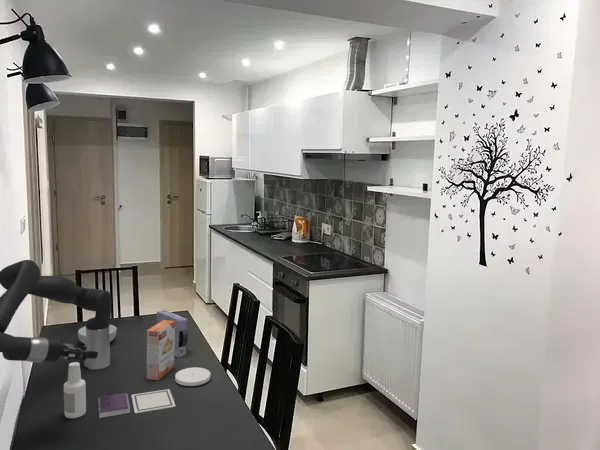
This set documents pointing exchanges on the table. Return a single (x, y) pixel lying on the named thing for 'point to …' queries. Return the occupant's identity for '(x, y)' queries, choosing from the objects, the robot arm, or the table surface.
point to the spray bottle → (74, 393)
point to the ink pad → (113, 405)
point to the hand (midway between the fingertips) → (91, 352)
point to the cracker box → (160, 349)
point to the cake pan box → (176, 331)
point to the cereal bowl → (83, 333)
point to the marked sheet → (152, 401)
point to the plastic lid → (192, 376)
